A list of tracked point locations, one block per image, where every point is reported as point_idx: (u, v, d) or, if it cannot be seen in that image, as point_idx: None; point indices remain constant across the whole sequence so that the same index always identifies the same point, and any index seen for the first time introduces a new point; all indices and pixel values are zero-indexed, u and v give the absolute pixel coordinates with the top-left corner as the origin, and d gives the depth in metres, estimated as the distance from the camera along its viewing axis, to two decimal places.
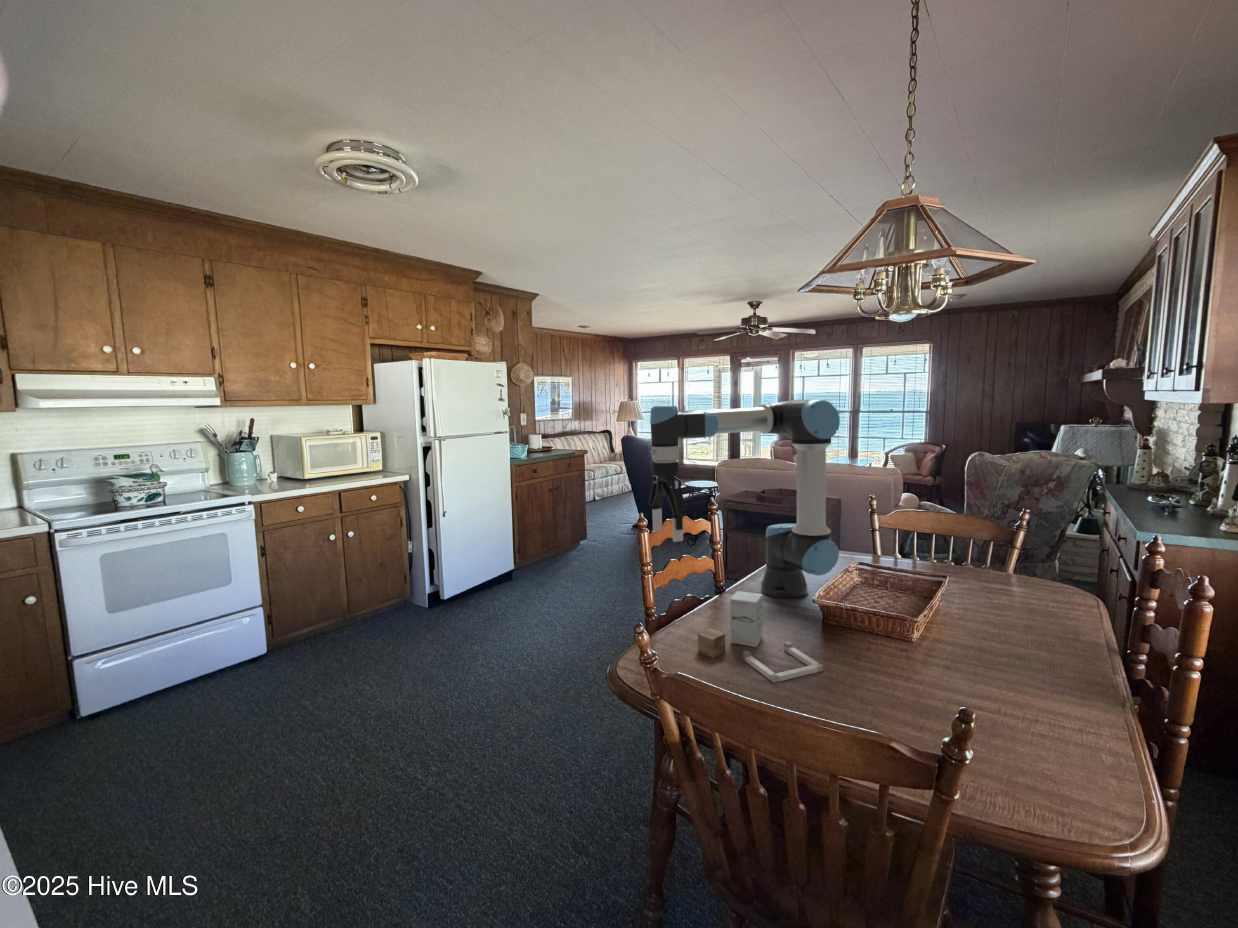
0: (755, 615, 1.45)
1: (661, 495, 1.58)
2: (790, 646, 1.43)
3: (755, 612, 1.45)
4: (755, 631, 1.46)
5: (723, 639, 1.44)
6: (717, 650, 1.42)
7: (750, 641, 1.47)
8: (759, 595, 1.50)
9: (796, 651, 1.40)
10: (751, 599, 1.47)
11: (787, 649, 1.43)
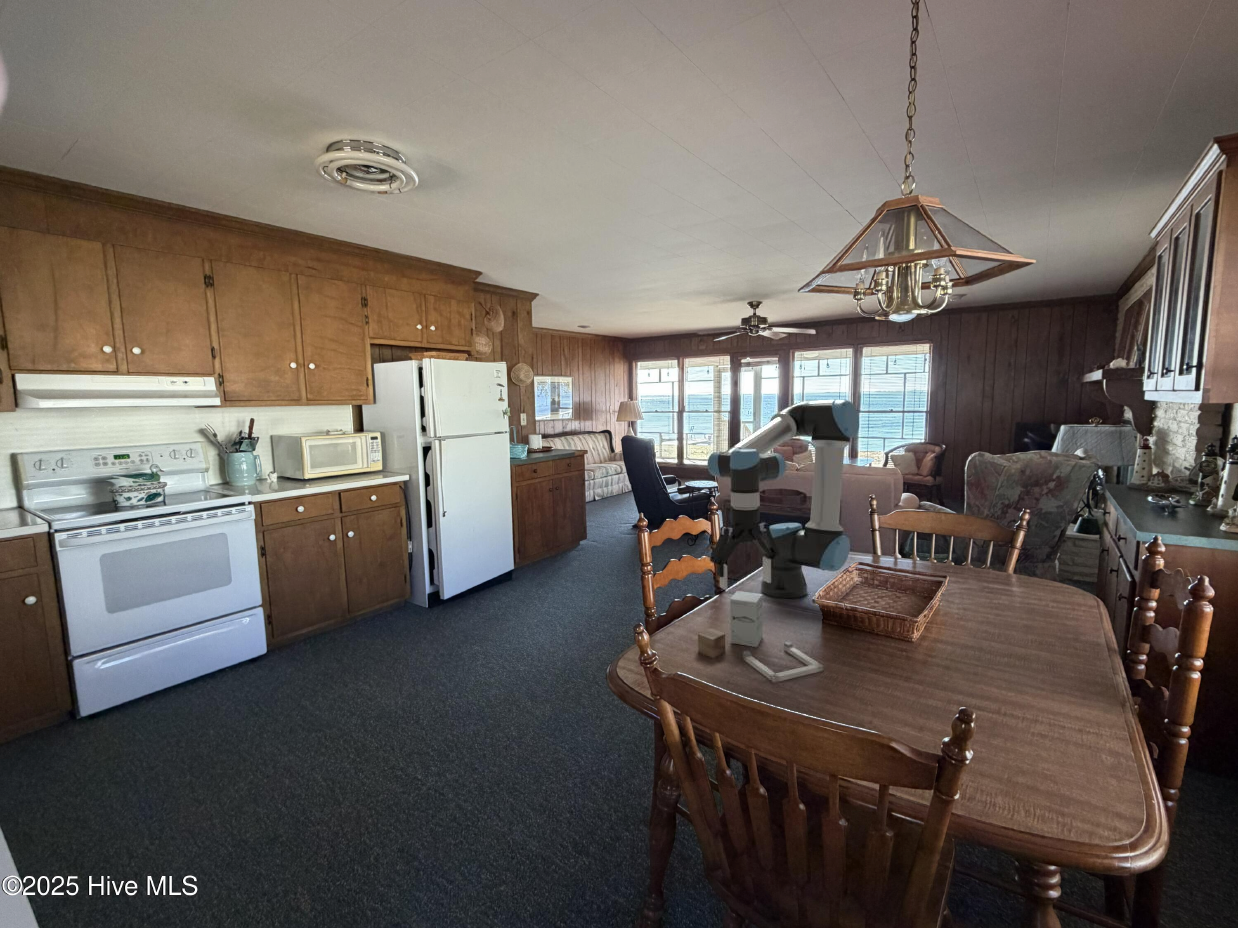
0: (755, 615, 1.45)
1: (757, 543, 1.49)
2: (790, 646, 1.43)
3: (755, 612, 1.45)
4: (755, 631, 1.46)
5: (723, 639, 1.44)
6: (717, 650, 1.42)
7: (750, 641, 1.47)
8: (759, 595, 1.50)
9: (796, 651, 1.40)
10: (751, 599, 1.47)
11: (787, 649, 1.43)
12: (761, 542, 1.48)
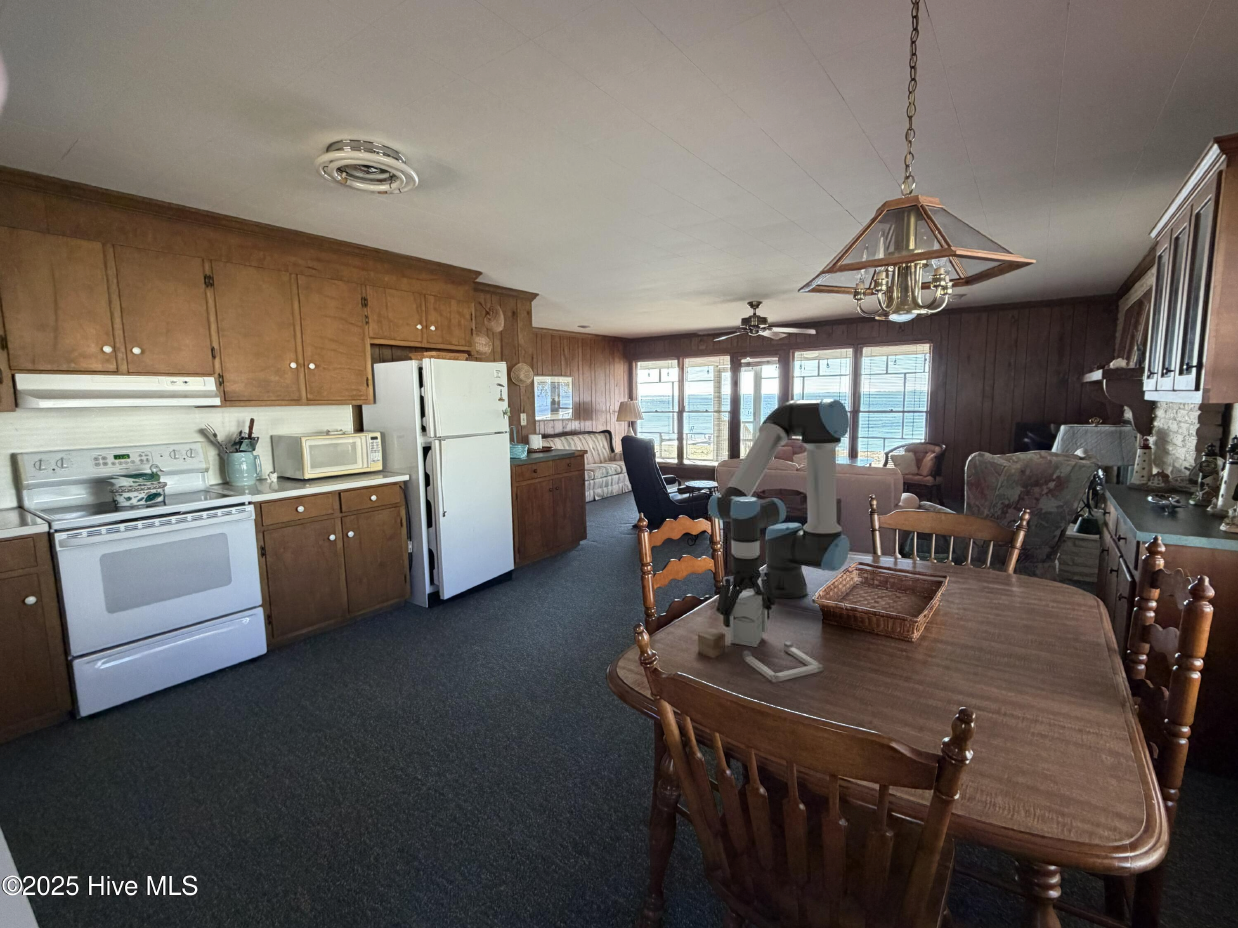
0: (755, 615, 1.45)
1: (756, 591, 1.50)
2: (790, 646, 1.43)
3: (755, 612, 1.45)
4: (755, 631, 1.46)
5: (723, 639, 1.44)
6: (717, 650, 1.42)
7: (749, 641, 1.47)
8: (759, 595, 1.50)
9: (796, 651, 1.40)
10: (751, 598, 1.47)
11: (787, 649, 1.43)
12: (760, 591, 1.49)
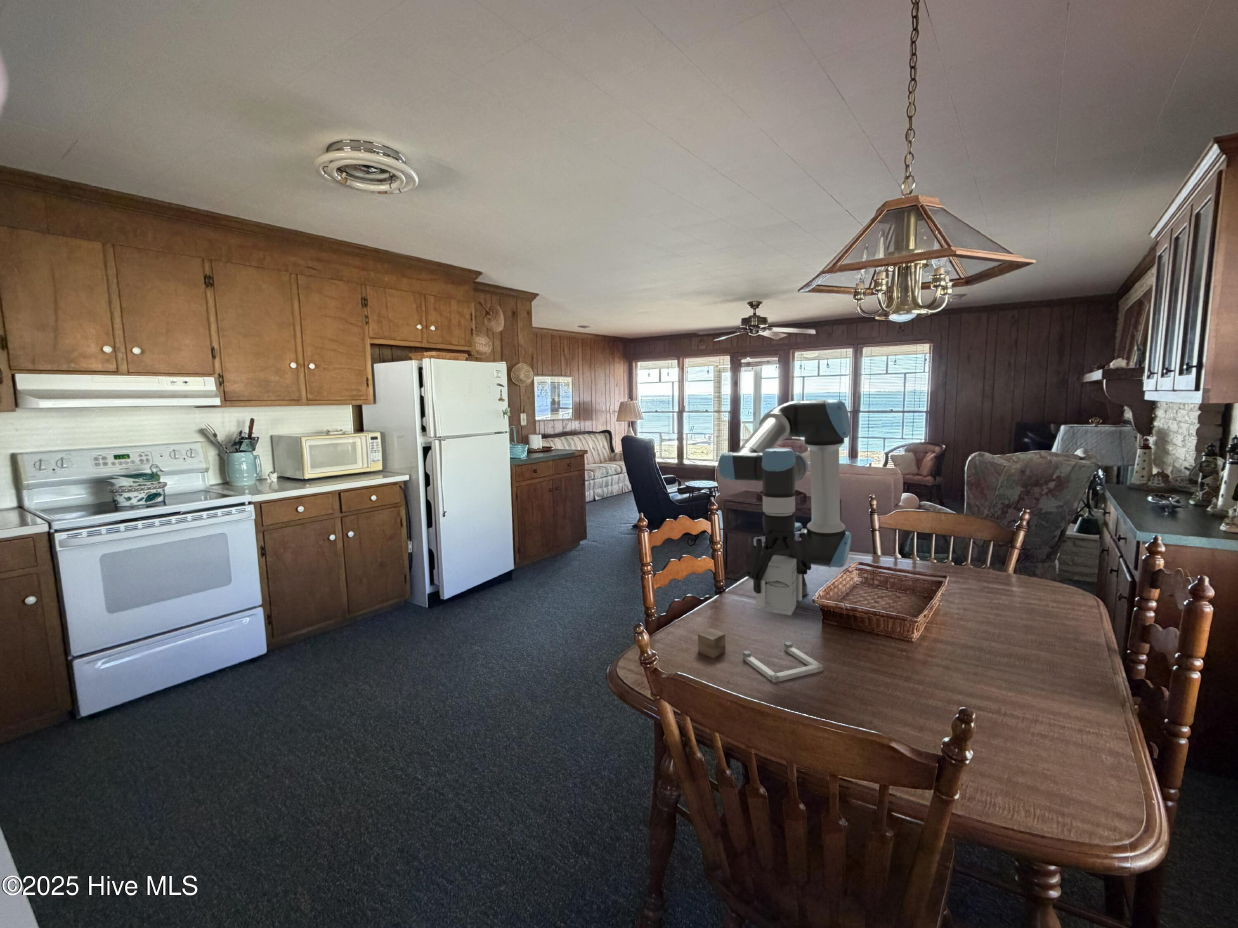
0: (790, 579, 1.30)
1: (789, 554, 1.35)
2: (790, 646, 1.43)
3: (790, 576, 1.30)
4: (790, 597, 1.30)
5: (723, 639, 1.44)
6: (717, 650, 1.42)
7: (783, 609, 1.31)
8: (793, 558, 1.34)
9: (796, 651, 1.40)
10: (785, 561, 1.32)
11: (787, 649, 1.43)
12: (794, 553, 1.34)
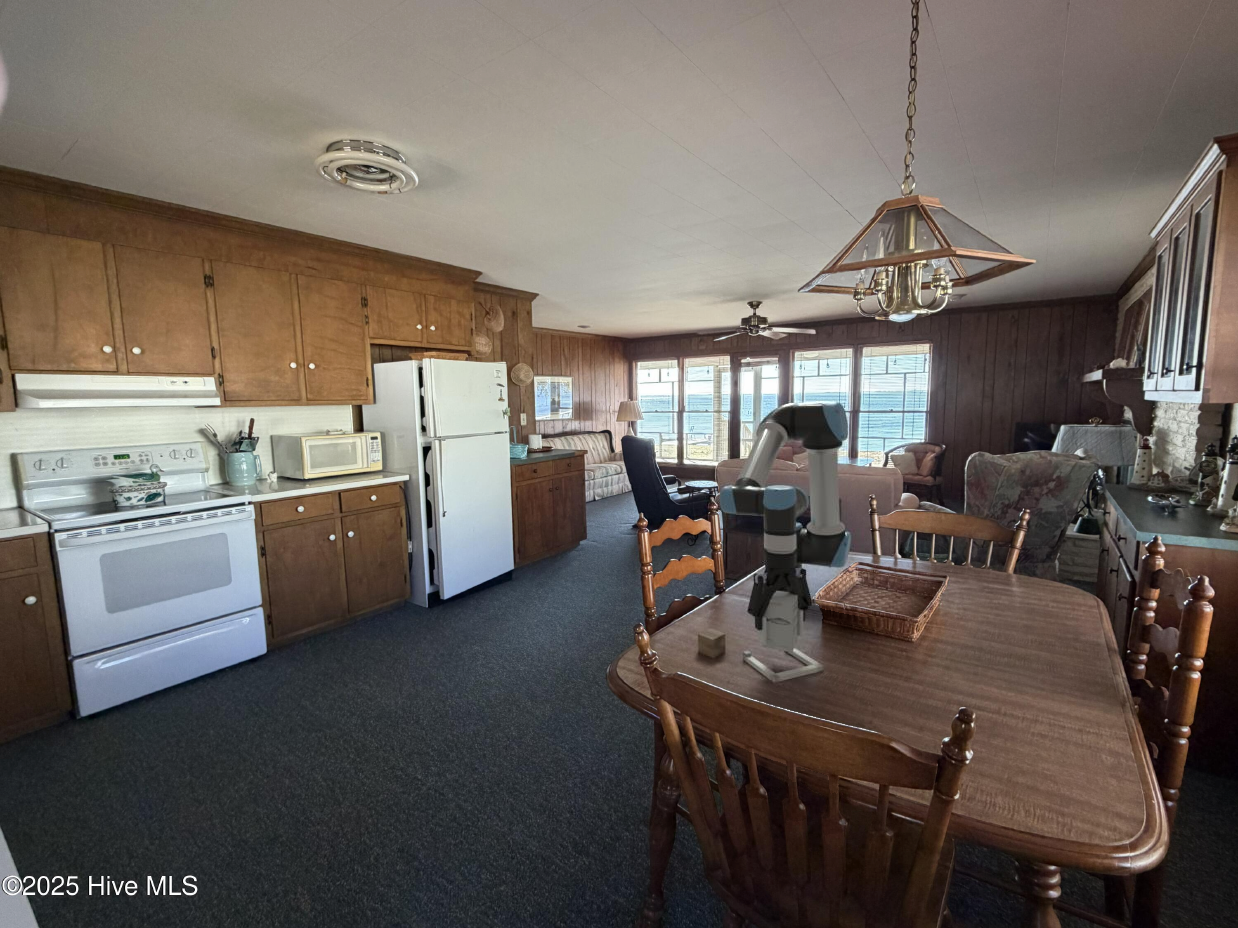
0: (791, 616, 1.31)
1: (790, 590, 1.36)
2: None
3: (791, 613, 1.30)
4: (791, 634, 1.31)
5: (723, 639, 1.44)
6: (717, 650, 1.42)
7: (784, 646, 1.32)
8: None
9: (796, 651, 1.40)
10: (786, 598, 1.32)
11: None
12: (795, 590, 1.35)
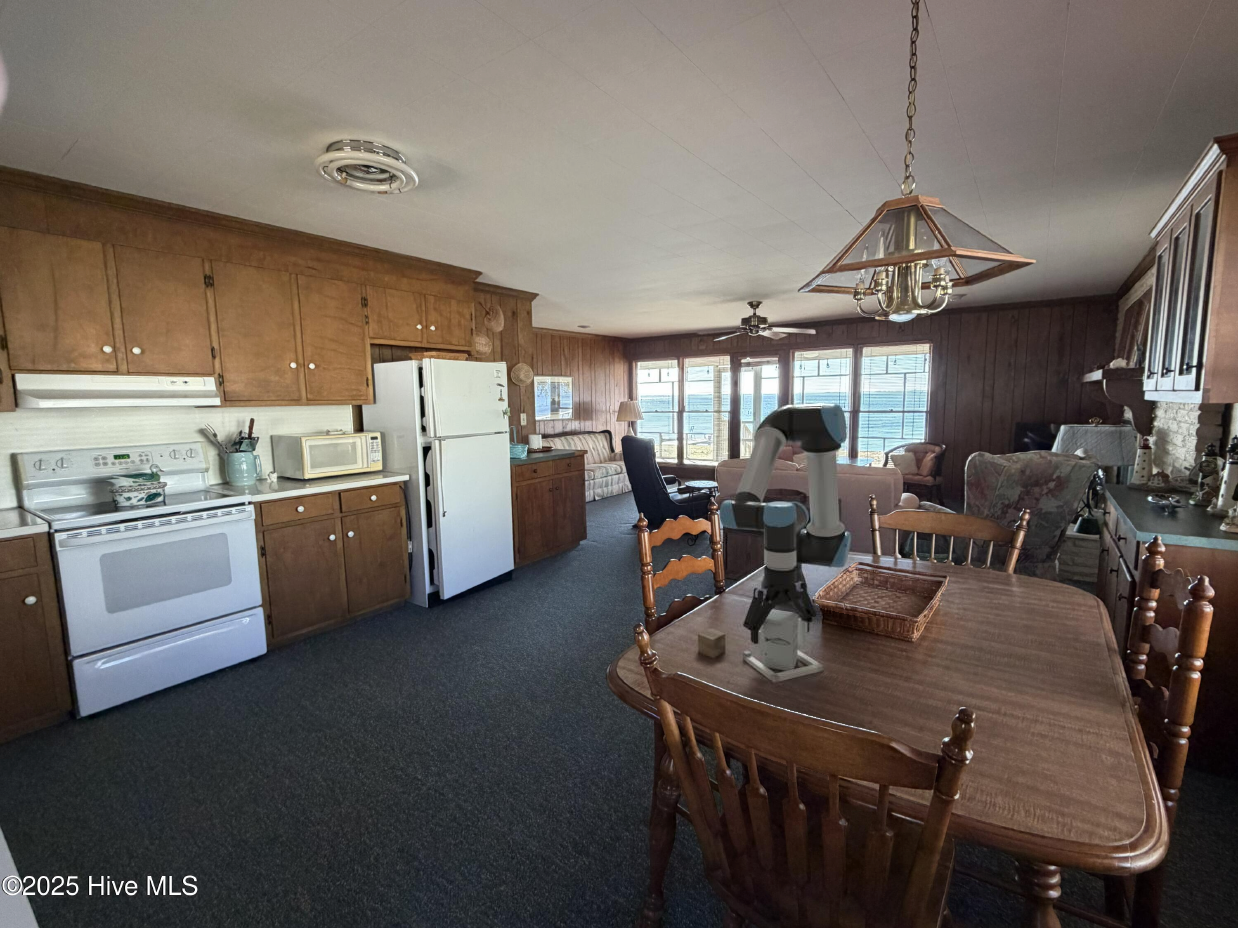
0: (791, 637, 1.31)
1: (793, 604, 1.36)
2: None
3: (791, 633, 1.31)
4: (791, 654, 1.32)
5: (723, 639, 1.44)
6: (717, 650, 1.42)
7: (785, 666, 1.33)
8: (794, 614, 1.36)
9: None
10: (786, 618, 1.33)
11: None
12: (797, 604, 1.35)
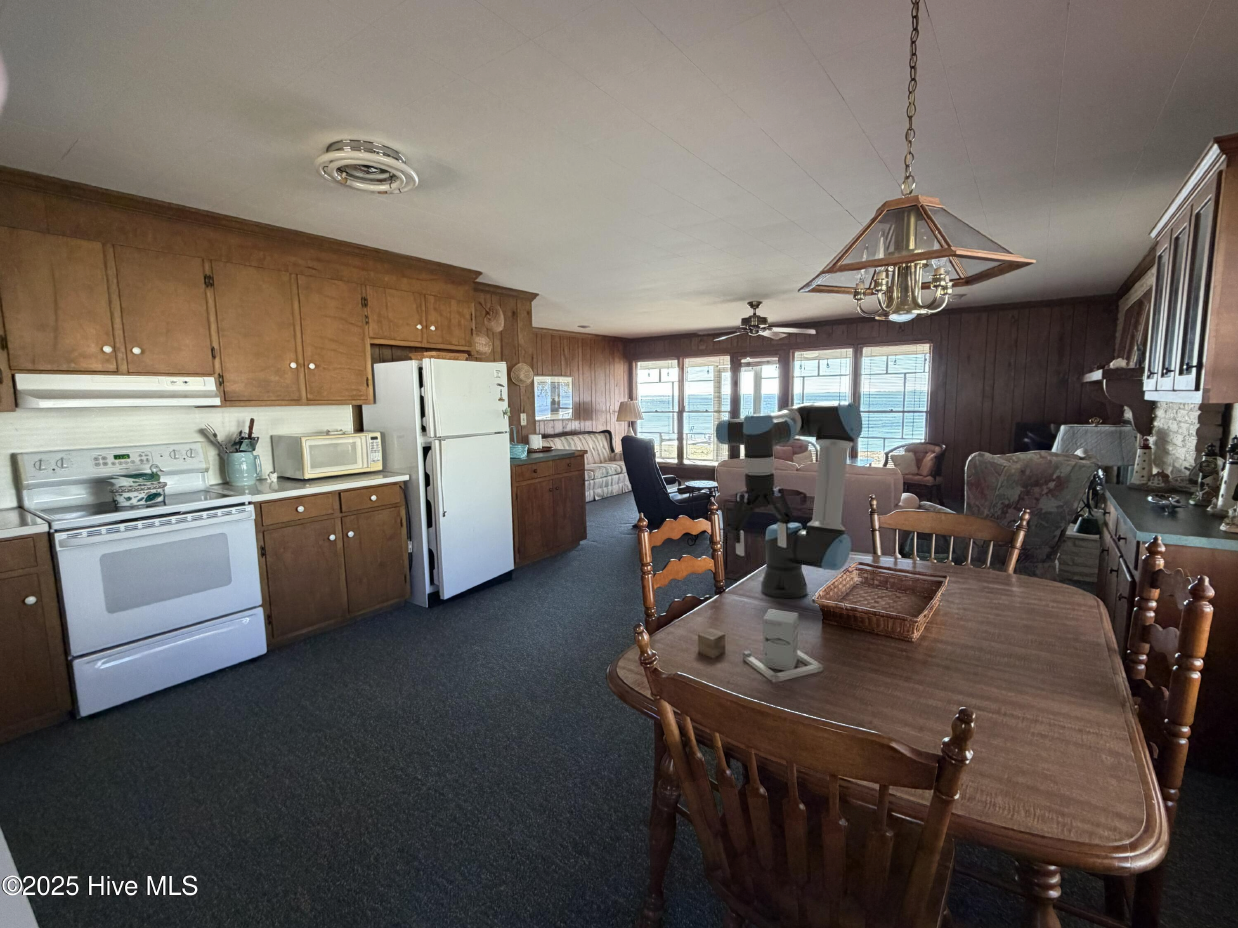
0: (791, 637, 1.31)
1: (772, 508, 1.48)
2: None
3: (791, 633, 1.31)
4: (791, 654, 1.32)
5: (723, 639, 1.44)
6: (717, 650, 1.42)
7: (785, 666, 1.33)
8: (794, 614, 1.36)
9: None
10: (786, 618, 1.33)
11: None
12: (776, 507, 1.48)
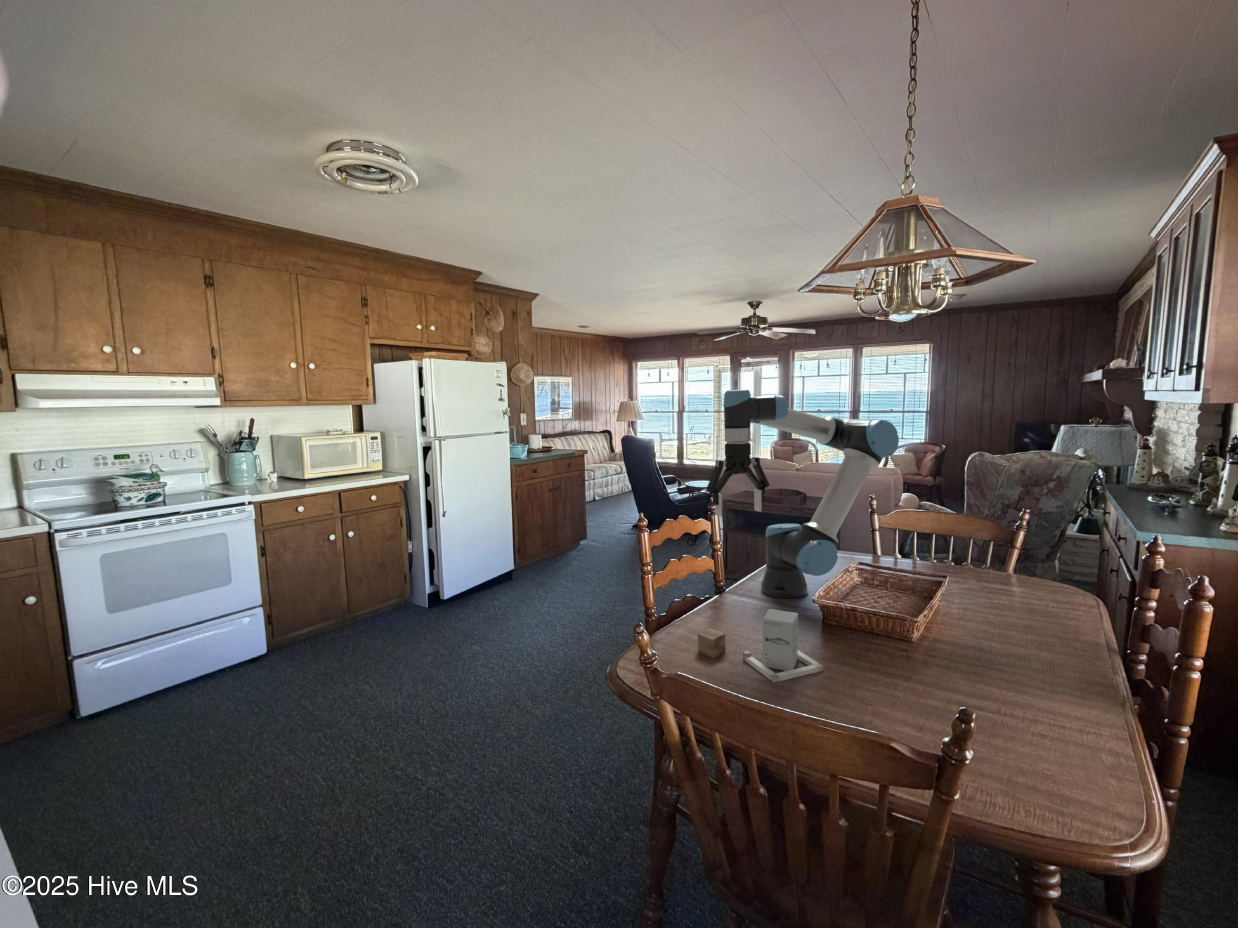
0: (791, 637, 1.31)
1: (749, 475, 1.65)
2: None
3: (791, 633, 1.31)
4: (791, 654, 1.32)
5: (723, 639, 1.44)
6: (717, 650, 1.42)
7: (785, 666, 1.33)
8: (794, 614, 1.36)
9: None
10: (786, 618, 1.33)
11: None
12: (752, 474, 1.64)
